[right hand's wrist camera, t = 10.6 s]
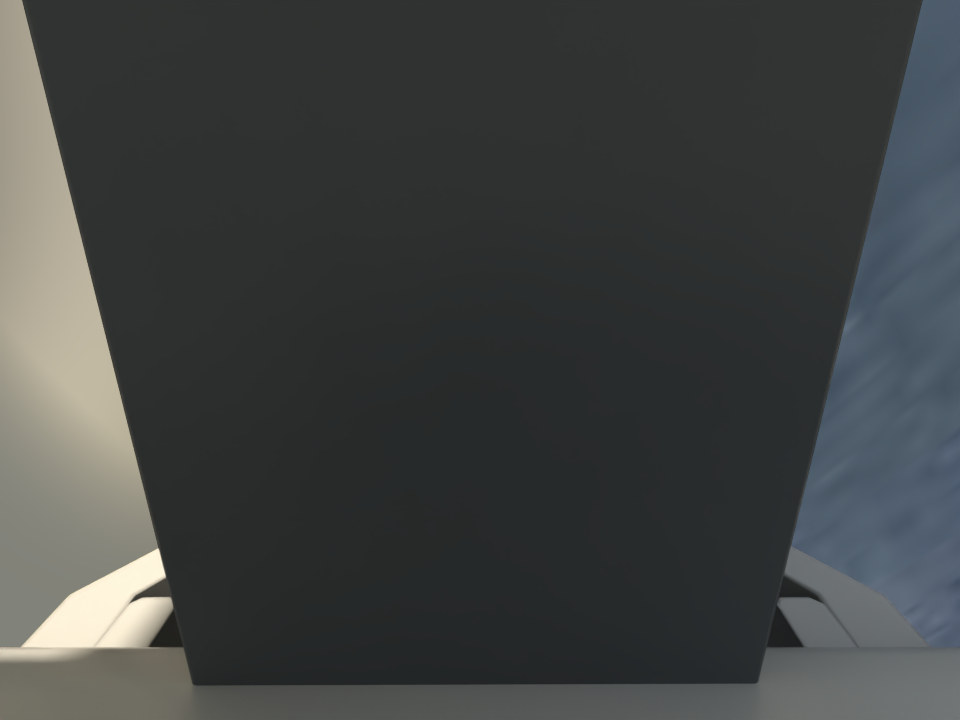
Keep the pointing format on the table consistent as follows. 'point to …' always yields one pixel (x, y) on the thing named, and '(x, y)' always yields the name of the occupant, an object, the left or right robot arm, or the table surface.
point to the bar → (473, 316)
